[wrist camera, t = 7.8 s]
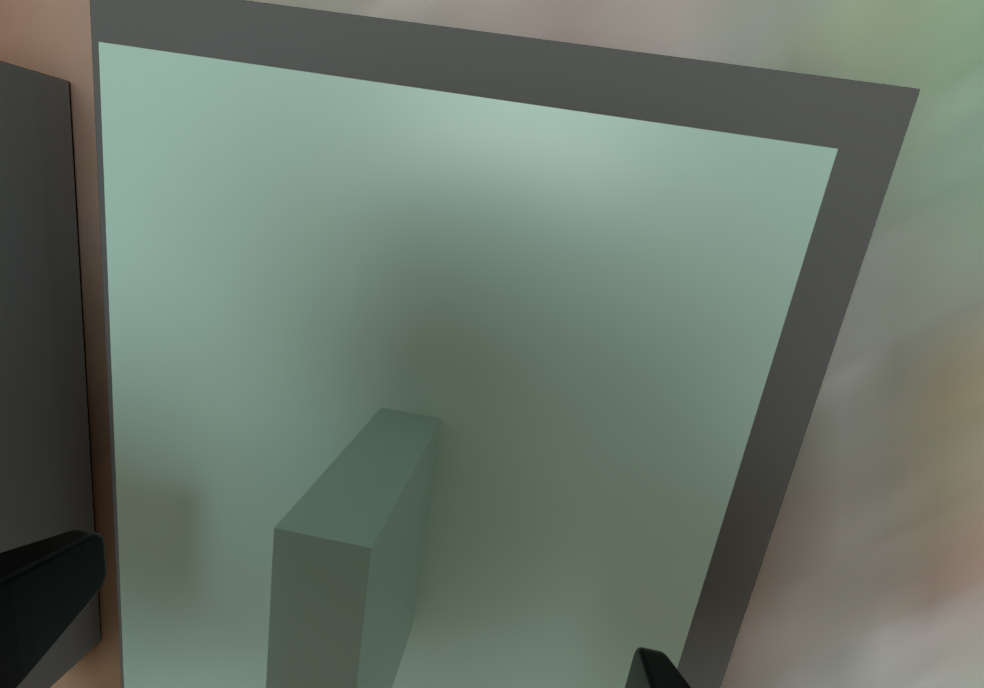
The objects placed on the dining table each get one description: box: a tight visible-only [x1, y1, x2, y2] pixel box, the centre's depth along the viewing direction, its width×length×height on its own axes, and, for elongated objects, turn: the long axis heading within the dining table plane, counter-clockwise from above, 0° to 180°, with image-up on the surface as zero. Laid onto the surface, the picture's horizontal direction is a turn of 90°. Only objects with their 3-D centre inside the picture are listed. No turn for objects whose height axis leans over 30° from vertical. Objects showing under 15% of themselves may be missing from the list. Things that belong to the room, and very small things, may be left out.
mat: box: [90, 0, 920, 688], centre depth 13 cm, size 20×17×1 cm
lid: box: [99, 42, 838, 688], centre depth 9 cm, size 17×13×6 cm
